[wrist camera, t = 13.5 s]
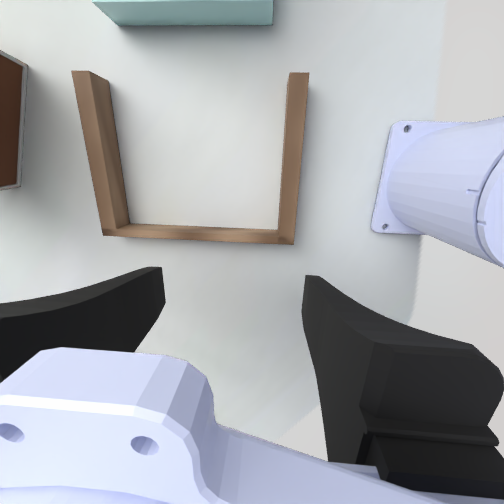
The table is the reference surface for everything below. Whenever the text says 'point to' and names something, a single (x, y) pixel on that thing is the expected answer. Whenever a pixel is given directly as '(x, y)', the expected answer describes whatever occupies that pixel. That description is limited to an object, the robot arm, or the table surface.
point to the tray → (187, 12)
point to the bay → (117, 224)
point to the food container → (11, 119)
